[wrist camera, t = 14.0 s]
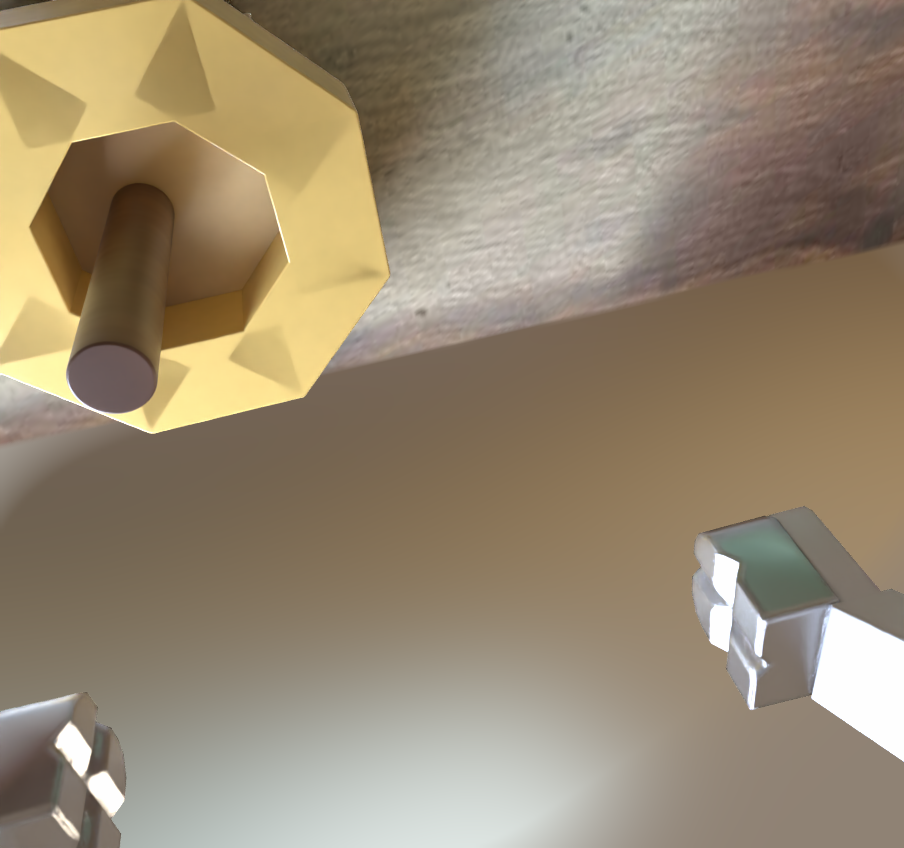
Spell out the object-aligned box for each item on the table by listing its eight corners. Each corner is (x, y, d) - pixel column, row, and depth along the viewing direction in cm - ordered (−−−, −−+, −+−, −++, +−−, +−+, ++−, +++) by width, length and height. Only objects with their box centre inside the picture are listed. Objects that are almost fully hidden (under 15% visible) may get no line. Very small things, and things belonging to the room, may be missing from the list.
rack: (250, 11, 24) (268, 123, 16) (319, 289, 30) (362, 487, 21) (-74, 71, 23) (-246, 225, 15) (58, 347, 29) (-10, 579, 20)
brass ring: (316, -51, 22) (327, -36, 20) (395, 330, 30) (410, 371, 27) (-144, 37, 21) (-186, 64, 19) (53, 411, 29) (39, 461, 26)
